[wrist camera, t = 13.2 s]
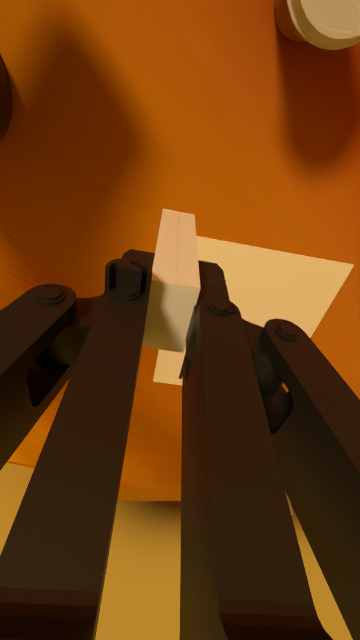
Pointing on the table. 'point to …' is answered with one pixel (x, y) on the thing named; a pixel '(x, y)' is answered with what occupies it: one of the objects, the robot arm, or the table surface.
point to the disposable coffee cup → (320, 22)
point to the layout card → (266, 290)
